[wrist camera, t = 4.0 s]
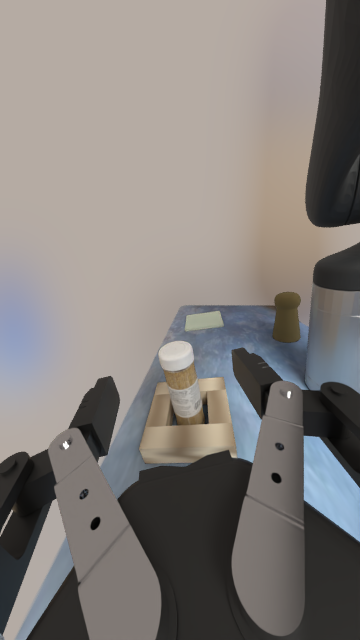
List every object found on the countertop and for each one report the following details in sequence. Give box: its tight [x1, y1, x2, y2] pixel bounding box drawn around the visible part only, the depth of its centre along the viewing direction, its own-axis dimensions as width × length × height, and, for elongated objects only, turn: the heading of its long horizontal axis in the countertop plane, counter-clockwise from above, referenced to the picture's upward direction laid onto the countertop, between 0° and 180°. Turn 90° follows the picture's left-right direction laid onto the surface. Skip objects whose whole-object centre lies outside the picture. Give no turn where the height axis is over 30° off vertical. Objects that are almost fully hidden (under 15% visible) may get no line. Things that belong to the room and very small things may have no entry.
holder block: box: [139, 377, 237, 464], centre depth 29 cm, size 12×12×3 cm
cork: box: [273, 292, 301, 343], centre depth 44 cm, size 6×6×11 cm
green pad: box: [185, 311, 224, 331], centre depth 64 cm, size 12×12×1 cm
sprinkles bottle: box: [158, 341, 205, 426], centre depth 27 cm, size 5×5×14 cm
